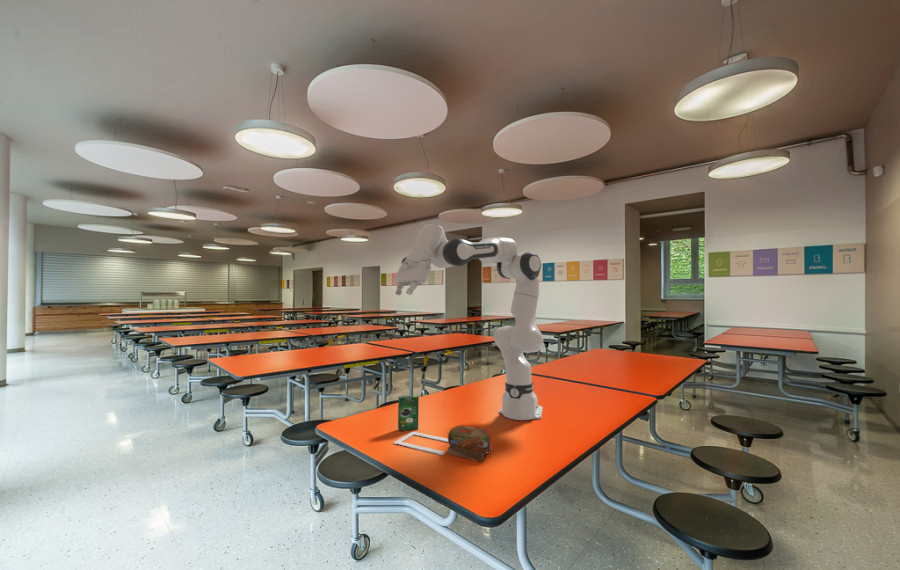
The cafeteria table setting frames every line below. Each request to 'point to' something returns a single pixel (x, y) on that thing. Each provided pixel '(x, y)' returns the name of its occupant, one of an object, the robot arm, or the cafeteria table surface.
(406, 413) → the coffee box
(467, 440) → the tin
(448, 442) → the frame
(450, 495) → the cafeteria table surface
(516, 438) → the cafeteria table surface
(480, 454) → the dark brown parallel bars
